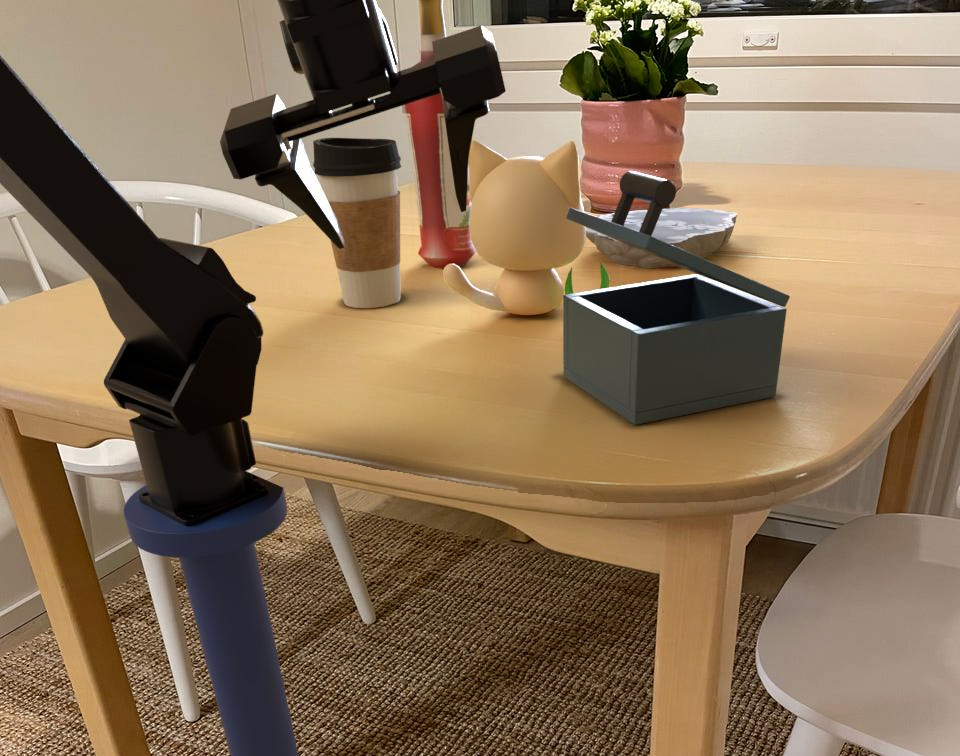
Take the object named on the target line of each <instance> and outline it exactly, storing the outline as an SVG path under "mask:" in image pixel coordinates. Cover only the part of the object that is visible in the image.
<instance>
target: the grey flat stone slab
mask: <svg viewBox="0 0 960 756" xmlns="http://www.w3.org/2000/svg"><path fill="white" fill-rule="evenodd" d="M647 211H648V209H637V210H636V209H635V210H629V213H628V215H627V218H626V221H625V223H624V227H627V228H630V229H633V230H636V231H638V232H639V230H640V228H641V225H642V223H643V220H644V218H645V216H646V213H647ZM614 213H615V212H611V213H604V214H600V215H597V216H596V217H599V218H602V219H604V220H607V221H610V222H611V221H612V218H613V216H614ZM737 217H738V213H737V212H736V211H730V210H729V211H728V210H720V209H709V208H708V209H707V208H697V207H695V208H694V207H674V208H663V209H662V212H661V214H660V216H659V219H658V221H657V224H656V226H655V229H654V231H653V233H652V237H655V238H657V239H659V240H662V241H664V242H666V243H668V244H671V245H673V246H675V247H678V248H680V249H682V250H685V251H687V252H689V253H692V254H694V255H696V256H699V257H701V258H703V259H707V258H709V257H710V256H713V255H716V254H718V253H720V251H722V250H723V249H724V248H725V246H726V245H727V244H728V243H729V241H730V238H731V236H732V235H733V232H734V228H735V224H736V223H737ZM586 239H588V240H589V242H591V243H592V244H593V245H595V247H596V249H597V250H598V252H599V253H601V254H602V255H604V256H605V257H606V258H607V259H608V260H609V261H611V262H613V263H614V264H615V263H616V264H620V265H623V266H638V267H640V268H643V269H660V268H670V267H671V268H672V267H673V268H678V267H679V266H678V265H675V264H673V263H670V262H668V261H666V260H663V259H661V258H659V257H656V256H654V255H651V254H649V253H647V252H644V251H642V250H640V249H637V248H635V247H632V246H630V245H628V244H625V243H623V242H621V241H618V240H616V239H613V238H611V237H609V236H606V235H604V234H601V233H599V232H597V231H594V230H592V229H590V228H587V227H586Z"/></svg>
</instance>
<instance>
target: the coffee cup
mask: <svg viewBox="0 0 960 756" xmlns="http://www.w3.org/2000/svg"><path fill="white" fill-rule="evenodd" d="M312 144H313V145H312V146H313V164H312V166H313V168H314V171H313V172H314V174H315V175H316V176H318V178H319V184H320V186H321V188H322V190H323V192H324V194H325V196H326V198H327V200H328V203H329V205H330V207H331V209H332V211H333V213H334V215H335V217H336V219H337V221H338V224H339V227H340V229H341V232H342V235H343V238H344V241H345V247H344V248H343V249H339V248H338V247H337V246H336V245H335V244H334V243H333V242H332V241H331V240H330V243H331V249H332V253H333V257H334V262H335V267H336V268H337V274H338V278H339V284H340V289H341V295H342V300H343V303H344V305H346V306H347V307H350V308H355V309H376V308H384V307H388V306H392V305H394V304H397V303H399V302H400V300H401V299H402V286H401V191H400V190H399V179H398V174H399V173H398V170H399V169H401V168H402V165H401V161H402V158H401V155H400V154H399V150H398V149H399V148H398V145H397V141H396V140H394V139H391V138H389V139H388V138H359V137H358V138H357V137H324V138H318V139H315V140H313V141H312Z"/></svg>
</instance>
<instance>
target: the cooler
mask: <svg viewBox="0 0 960 756" xmlns="http://www.w3.org/2000/svg"><path fill="white" fill-rule="evenodd" d="M562 304H563V305H562V311H563V312H562V315H563V316H562V317H563V318H562V321H563V322H562V326H563V327H562V328H563V329H562V333H563V334H562V338H563V341H562V343H563V344H562V349H563V350H562V351H563V352H562V354H563V355H562V356H563V357H562V359H563V361H562V363H563V364H562V365H563V374H562V375H563V378H565V379H567V380H568V381H569V382H571V384H574V385H575V386H577V387H578V388H580V389H581V390H583V391H584V392H585V393H587V394H588V395H590V396H592V398H594V399H596V400H597V401H599V402H600V403H602V404H603V405H605V406H606V407H607V408H609V409H610V410H612V411H613V412H615V413H616V414H617V415H619V416H620V417H622V418H624V420H626V421H628V422H629V423H631V424H632V425H634V426H637V425H642V424H646V423H652V422H657V421H661V420H666V419H672V418H677V417H681V416H688V415H690V414H696V413H701V412H707V411H711V410H717V409H720V408H721V409H722V408H726V407H731V406H736V405H740V404H741V405H742V404H745V403H751V402H755V401H761V400H765V399H769V398H775V397H776V395H777V387H778V386H777V385H778V380H779V373H780V365H781V356H782V349H783V341H784V333H785V326H786V318H787V308H785V307H782V306H780V305H777V304H775V303H772V302H769V301H767V300H764V299H762V298H759V297H756V296H754V295H751V294H749V293H746V292H743V291H741V290H738V289H736V288H733V287H730V286H728V285H725V284H723V283H720V282H718V281H715V280H712V279H710V278H707V277H705V276H702V275H699V274H697V273H694V274H689V275H682V276H676V277H675V276H674V277H669V278H663V279H657V280H650V281H644V282H638V283H637V282H636V283H631V284H623V285H618V286H612V287H609V288H605V289H600V288H599V289H593V290H587V291H580V292H575V293H574V292H573V294H567V295H565V294H564V295H563V299H562Z"/></svg>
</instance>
